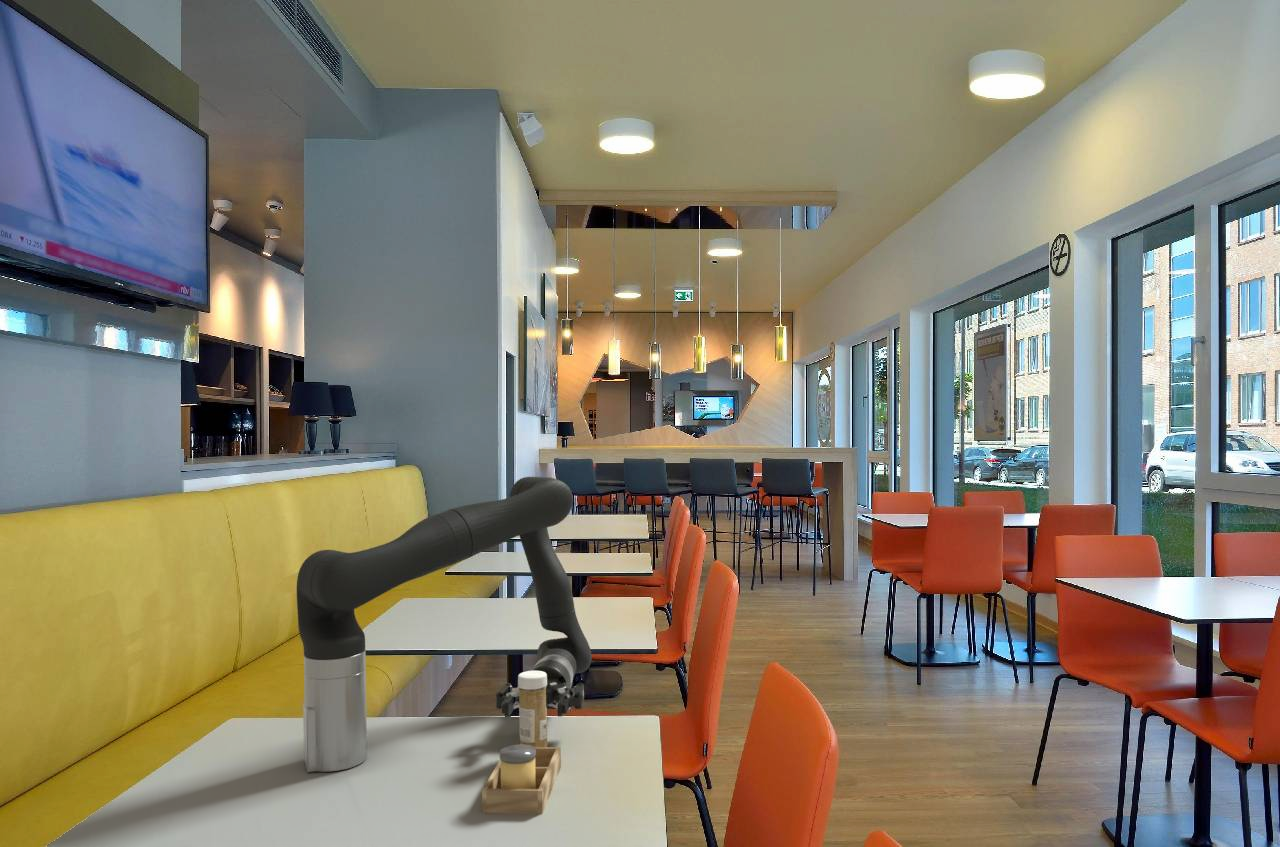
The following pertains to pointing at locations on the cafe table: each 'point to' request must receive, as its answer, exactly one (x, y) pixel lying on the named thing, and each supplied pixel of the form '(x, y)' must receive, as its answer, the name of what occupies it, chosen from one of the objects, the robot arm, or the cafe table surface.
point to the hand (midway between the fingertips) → (533, 710)
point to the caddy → (524, 798)
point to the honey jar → (518, 767)
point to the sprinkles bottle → (533, 708)
